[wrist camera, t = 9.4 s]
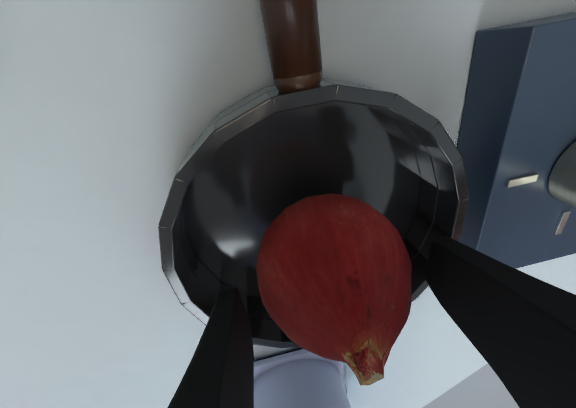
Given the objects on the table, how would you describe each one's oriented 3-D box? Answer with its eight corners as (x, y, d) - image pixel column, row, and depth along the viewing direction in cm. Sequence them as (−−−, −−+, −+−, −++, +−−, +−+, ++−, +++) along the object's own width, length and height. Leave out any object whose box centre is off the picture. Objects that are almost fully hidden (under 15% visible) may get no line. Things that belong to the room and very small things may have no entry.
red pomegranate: (382, 181, 13) (535, 316, 7) (337, 268, 16) (414, 432, 9) (271, 151, 12) (320, 290, 5) (239, 253, 14) (242, 442, 7)
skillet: (414, 274, 18) (445, 312, 15) (220, 323, 17) (217, 372, 14) (440, 51, 11) (501, 51, 9) (124, 113, 10) (86, 133, 8)
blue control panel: (567, 220, 18) (616, 245, 15) (439, 252, 17) (470, 283, 15) (670, -7, 12) (776, -21, 9) (476, 30, 11) (539, 25, 9)
